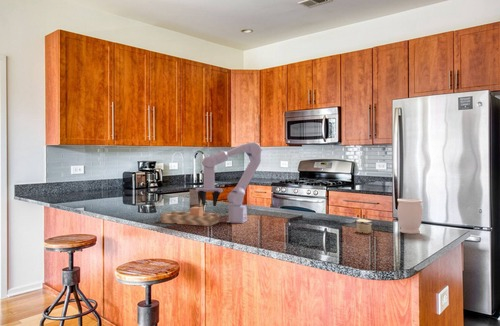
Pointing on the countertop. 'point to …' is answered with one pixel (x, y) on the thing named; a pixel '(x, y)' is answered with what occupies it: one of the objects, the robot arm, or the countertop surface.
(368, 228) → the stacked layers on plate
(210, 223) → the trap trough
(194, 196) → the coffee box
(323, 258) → the countertop surface
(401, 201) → the jar
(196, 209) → the terracotta block
